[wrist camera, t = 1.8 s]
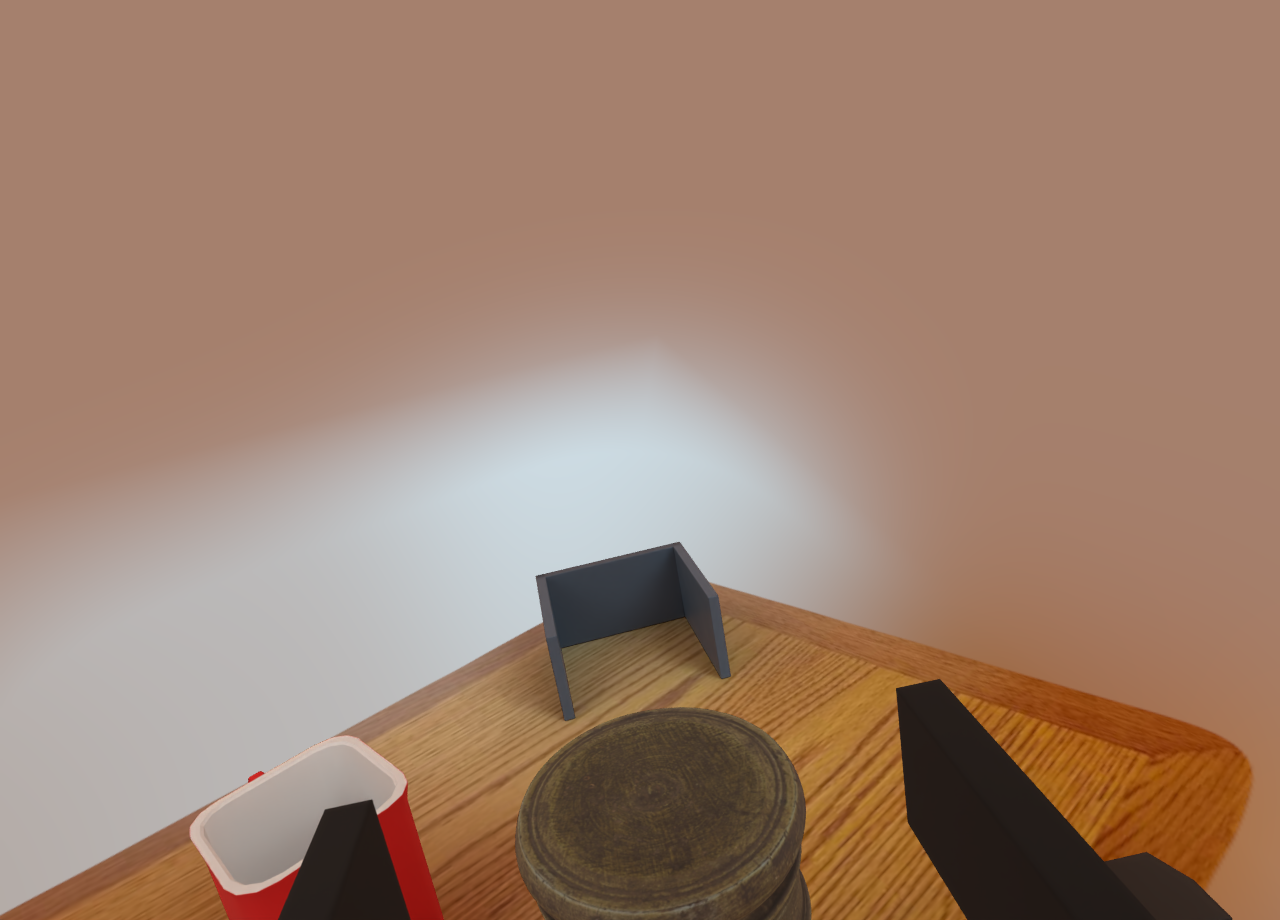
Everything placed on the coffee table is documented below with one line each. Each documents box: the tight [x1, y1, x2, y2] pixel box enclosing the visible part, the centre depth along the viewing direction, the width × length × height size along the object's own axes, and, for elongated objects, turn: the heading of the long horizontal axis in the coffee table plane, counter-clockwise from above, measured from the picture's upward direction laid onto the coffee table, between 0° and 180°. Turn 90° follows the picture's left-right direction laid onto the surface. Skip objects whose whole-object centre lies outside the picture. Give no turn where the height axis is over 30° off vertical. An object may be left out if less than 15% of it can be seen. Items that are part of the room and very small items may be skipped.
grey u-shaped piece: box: [536, 542, 731, 721], centre depth 62 cm, size 12×13×7 cm
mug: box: [190, 735, 444, 920], centre depth 38 cm, size 12×8×11 cm
